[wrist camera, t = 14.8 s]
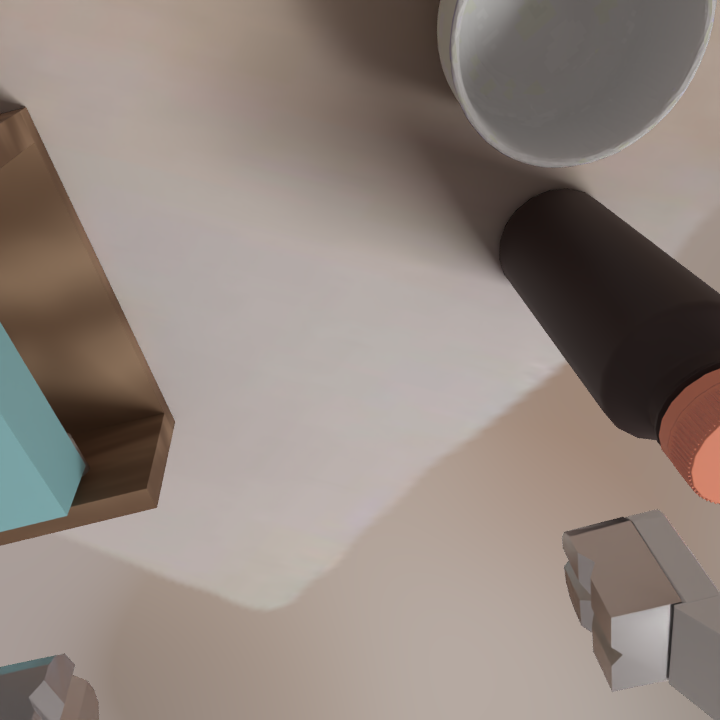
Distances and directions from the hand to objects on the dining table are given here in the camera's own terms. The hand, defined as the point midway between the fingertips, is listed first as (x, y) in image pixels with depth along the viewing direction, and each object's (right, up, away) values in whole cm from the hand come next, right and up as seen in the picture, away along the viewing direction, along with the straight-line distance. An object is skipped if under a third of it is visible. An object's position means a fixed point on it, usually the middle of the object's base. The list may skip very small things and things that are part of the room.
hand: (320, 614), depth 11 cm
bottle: (+12, +11, +29) cm, 34 cm away
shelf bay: (-20, +7, +28) cm, 35 cm away
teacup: (+8, +23, +22) cm, 33 cm away
